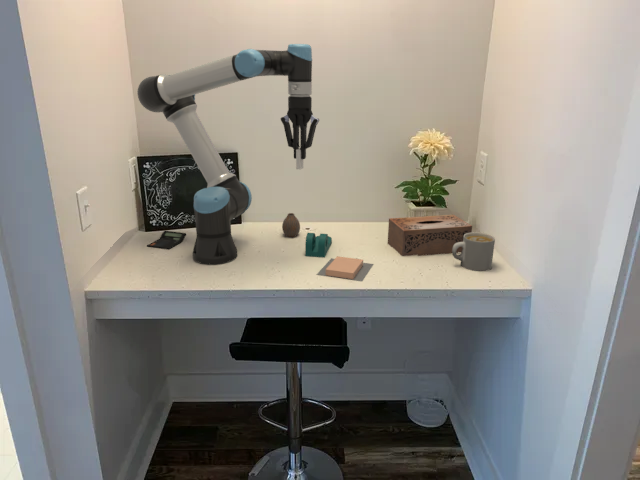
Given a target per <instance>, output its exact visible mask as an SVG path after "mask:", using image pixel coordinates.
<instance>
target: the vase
mask: <svg viewBox="0 0 640 480" xmlns="http://www.w3.org/2000/svg"><path fill="white" fill-rule="evenodd" d="M281 227H282V228H281V229H282V233H283V234H284V235H285V236H286V237H288V238H295V237H297V236H298V235H299V233H300V231H301V224H300V220H299V219H298V218H297V217H296V214H295V213H293V212H289V213H287V215H286V217H285V218H284V219H283V222H282V225H281Z"/></svg>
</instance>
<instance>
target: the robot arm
mask: <svg viewBox="0 0 640 480" xmlns="http://www.w3.org/2000/svg"><path fill="white" fill-rule="evenodd" d="M312 69H313V52H312V47H311V45H310V44H307V43H305V44H304V43H290V44H288V46H287V50H267V49H266V50H264V49H252V48H248V49H243V50H241V51H239V52H238V53H237V54H233V55H230V56H227V57H224V58H221V59H217V60H214V61H212V62H208V63H205V64H201V65H199V66H195V67H192V68H189V69H186V70H182V71H179V72H175V73H173V74H169V75H168V74H166V73H161V74H159V75H154V76H147V77H146V78H144V79H142V81H140V83H139V84H138V87H137V98H138V101H139V103H140V105H141V106H142V107H143V108H144V109H146V110H147V111H148V112H149V111H150V112H152V113H162V114H163V115H164V118H165V119H166V122H170V123H172V124H174V126H175V129H176V130H177V131H178V133H179V135H180V136H181V138H182V140H183V142H184V144H185V145H186V147H187V149H188V151H189V153H190V154H191V156H192V158H193V160H194V162H195V163H196V165H197V167H198V169H199V170H200V171H199V172H201V174H202V176H203V178H204V179H205V182H206V183H207V186H206V187H203V188H202V189H200V190H198V191H196V192H195V193H194V196H193V211H194V222H195V231H196V232H195V234H196V238H195V242H194V246H193V249H192V259H193V261H194V262H196V263H199V264H202V265H220V264H221V265H222V264H225V263H229V262H233V261H235V259H236V258H238V248H237V245H236V243H235V240H234V237H233V235H232V227H231V225H232V222H231V221H233V220H234V219H236V218H237V217H239V216H241V215H243V214H244V213H246V211H248V209H249V208H250V206H251V204H252V199H253V196H252V192H251V189H250V187H248V185H247V184H245V183H243V182H242V181H240V180H239V179H238V177H237V175H236V174H235V173H231V172H230V171H229V170H228V168H227V166H226V164H225V162H224V161H223V159H222V157H221V156H220V154H219V152H218V150H217V148H216V147H215V144H214V143H213V141H212V139H211V137H210V136H209V134H208V131H207V130H206V128H205V127H204V125H203V123H202V121H201V119H200V117H199V116H198V114H197V108H198V104H197V103H196V95H197V94H200V93H204V92H208V91H211V90H214V89H218V88H221V87H224V86H228V85H231V84H235V83H237V82H238V83H239V82H241V81H245V80H249V79H252V78H255V77H269V76H274V77H275V76H276V77H277V76H283V77H284V76H285V77H287V82H288V83H287V86H288V87H287V93H288V95H289V96H288V97H287V102H288V103H287V104H288V105H287V113H286V114H285V115H284V116H282V117H280V121H281V123H282V125H283V128H284V132H285V137H286V138H285V139H286V142H287V146H288V147H289V148H292V149H293V159H294V160H295V163H296V164H295V165H296V166H295V168H296V170H302V169H304V160H305V159H306V158H307V149H309V148H312V145H313V141H314V137H315V133H316V129H317V125H318V123H319V122H320V118H317V117H315V116H314V114H313V111H312V103H313V102H312V96H311V95H312V93H313V91H312V90H313V88H312V86H313V85H312V83H313V82H312V80H313V77H312V75H313V74H312V73H313V70H312ZM290 122H291V123H292V127H291V123H290ZM309 122H310V126H309V130H308V131H307V128H308V123H309ZM291 128H292V129H291ZM307 132H308V134H307Z"/></svg>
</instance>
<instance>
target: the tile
mask: <svg viewBox="0 0 640 480" xmlns="http://www.w3.org/2000/svg"><path fill="white" fill-rule="evenodd" d="M333 259H334V261H333V262H332V263H331V264H330V265H329V266H328V267H327V268H326V275H328V276H335V277H341V278H348V279H354V277H355V276H356V275H357V273H358V272H359V270H360V269H361V268H362V266H363V263H364V259H360V258H354V257H348V256H347V257H345V256H336V257H335V258H333ZM341 278H340V279H341ZM348 279H347V280H348Z"/></svg>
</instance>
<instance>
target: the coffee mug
mask: <svg viewBox="0 0 640 480" xmlns="http://www.w3.org/2000/svg"><path fill="white" fill-rule="evenodd" d="M495 243H496V238H495V237H494V236H493V235H491V234H488V233H484V232H476V231H475V232H474V231H473V232H472V233H466V234H464V236H463V242H458V243H455V244H454V246H453V248H452V253H451V254H452V257H453V258H454V259H456V260H458V261H460V266H461V267H462V268H464V269H467V270H470V271H474V272H477V271H478V272H486V271H489V270H491V269H492V266H493V264H492V263H493V258H494V257H493V256H494V250H495ZM459 247H462V252H461V253H459V254H458V253H456V251H457V249H458V248H459Z"/></svg>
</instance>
